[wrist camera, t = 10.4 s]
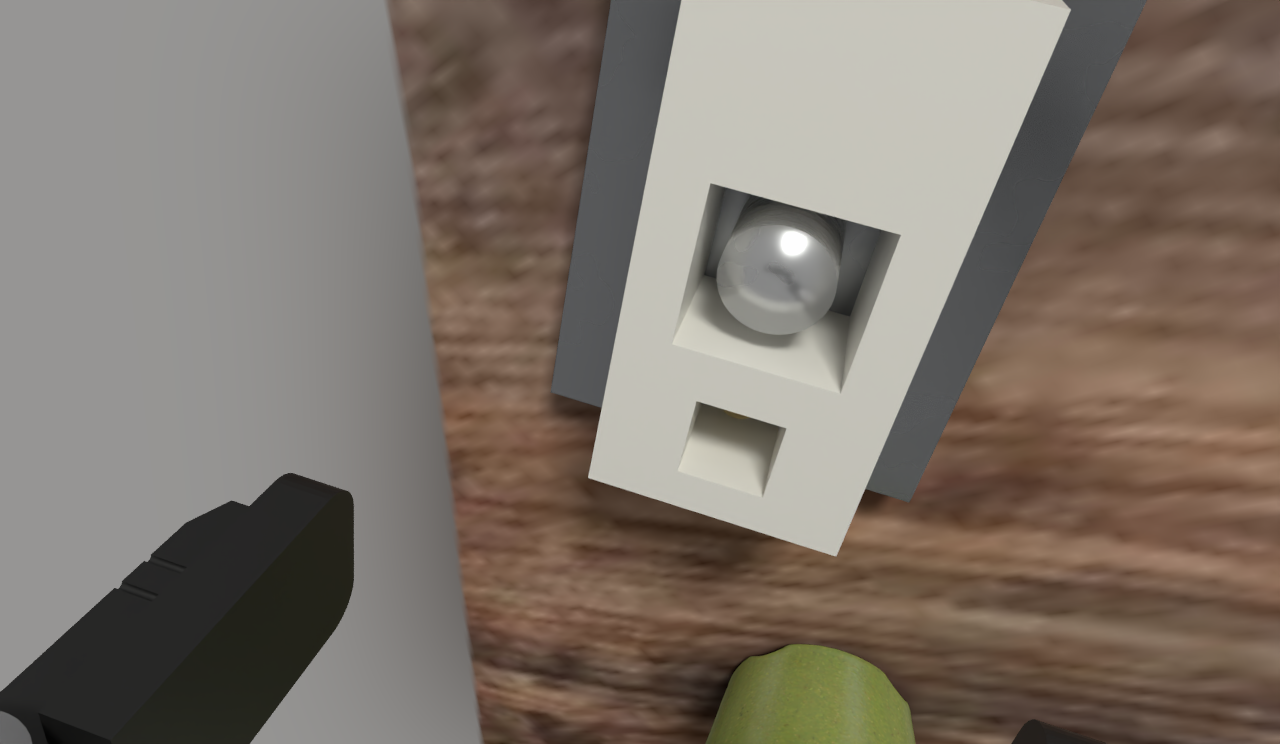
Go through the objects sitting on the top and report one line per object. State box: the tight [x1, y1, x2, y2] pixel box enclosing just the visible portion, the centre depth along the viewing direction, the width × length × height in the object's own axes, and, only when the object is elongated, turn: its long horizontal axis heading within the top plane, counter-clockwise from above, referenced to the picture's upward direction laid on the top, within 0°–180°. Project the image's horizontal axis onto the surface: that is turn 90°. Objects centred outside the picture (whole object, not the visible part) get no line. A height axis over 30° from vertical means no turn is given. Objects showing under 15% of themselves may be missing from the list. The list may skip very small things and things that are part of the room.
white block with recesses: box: [588, 0, 1071, 556], centre depth 19 cm, size 12×6×4 cm, turn 168°
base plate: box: [551, 0, 1147, 502], centre depth 20 cm, size 13×10×4 cm
